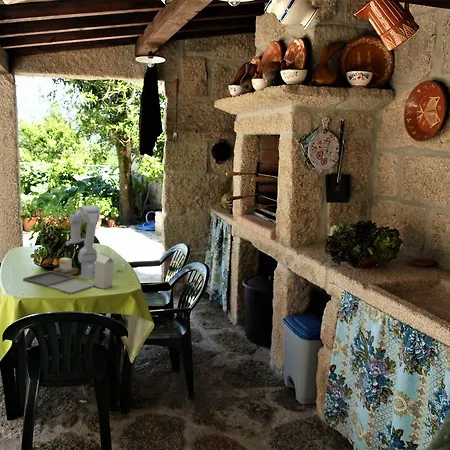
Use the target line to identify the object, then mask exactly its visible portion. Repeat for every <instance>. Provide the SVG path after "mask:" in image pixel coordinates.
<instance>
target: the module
mask: <svg viewBox="0 0 450 450" xmlns="http://www.w3.org/2000/svg"><path fill="white" fill-rule="evenodd" d="M72 264H73V260H72V258H69V257H61V258H59V268H61V269H65V270H68V269H72V267H73V265H72Z"/></svg>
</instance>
